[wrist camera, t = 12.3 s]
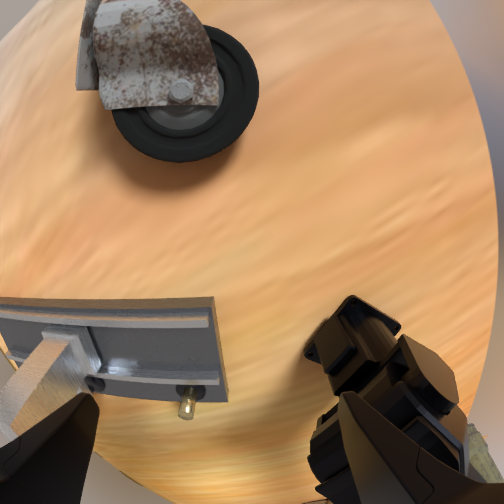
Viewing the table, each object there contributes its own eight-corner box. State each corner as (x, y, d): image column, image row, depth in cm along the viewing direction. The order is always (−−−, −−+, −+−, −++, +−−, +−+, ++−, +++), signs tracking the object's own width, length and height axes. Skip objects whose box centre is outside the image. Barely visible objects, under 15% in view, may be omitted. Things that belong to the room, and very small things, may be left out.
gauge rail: (213, 296, 20) (206, 332, 16) (228, 390, 23) (226, 428, 19) (-5, 296, 20) (-29, 315, 16) (28, 368, 23) (11, 390, 19)
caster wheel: (242, 150, 19) (107, 151, 17) (257, 7, 13) (116, 9, 12) (258, 175, 14) (69, 178, 12) (281, -28, 8) (82, -20, 6)
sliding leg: (86, 326, 19) (14, 427, 8) (113, 389, 21) (73, 486, 10) (49, 323, 19) (-22, 407, 8) (78, 383, 21) (32, 467, 10)
